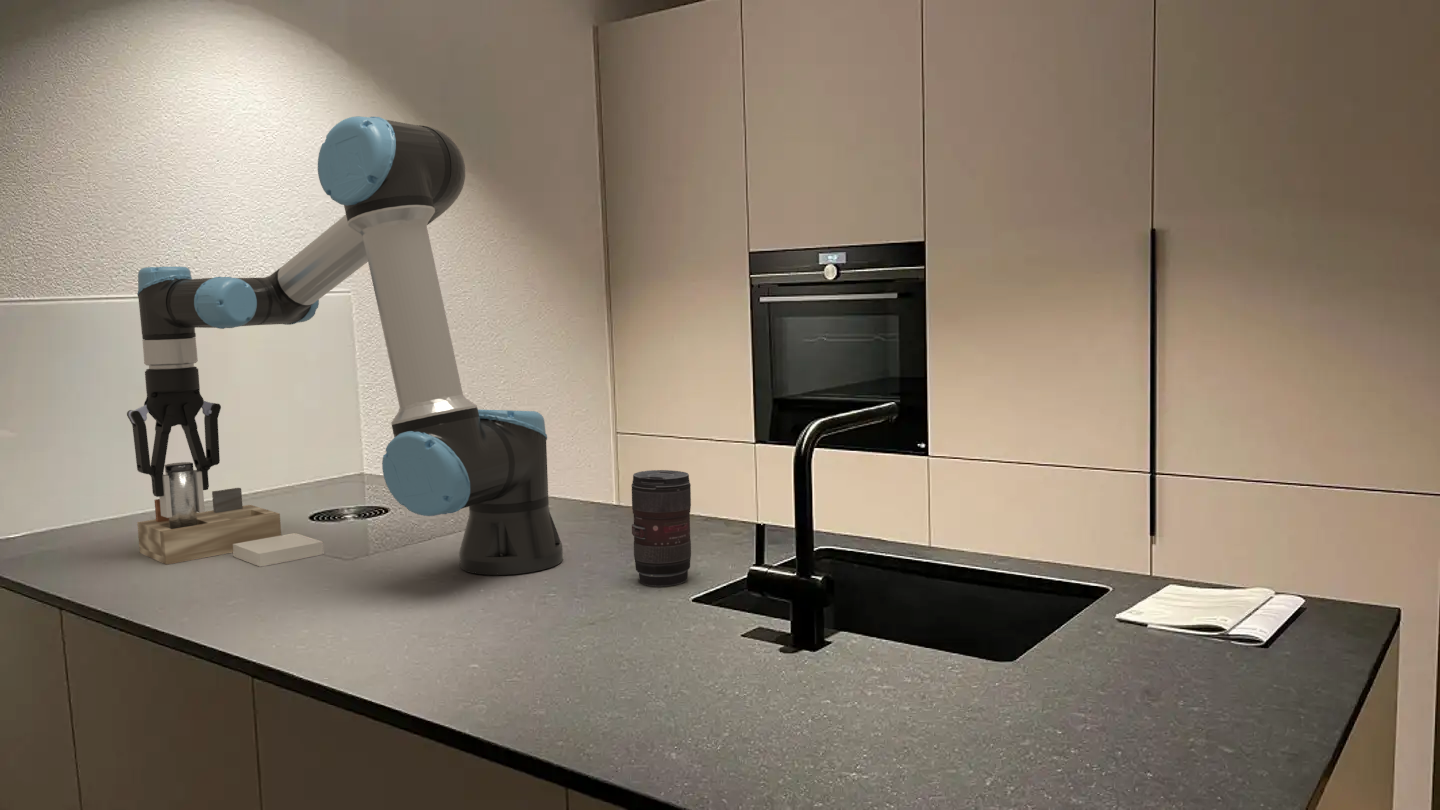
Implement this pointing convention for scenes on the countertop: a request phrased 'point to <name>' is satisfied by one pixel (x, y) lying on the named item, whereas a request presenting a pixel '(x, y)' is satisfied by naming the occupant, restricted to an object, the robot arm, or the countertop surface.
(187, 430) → the robot arm
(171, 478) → the shaker with dark cap
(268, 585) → the countertop surface
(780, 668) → the countertop surface
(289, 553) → the plate
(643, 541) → the camera lens
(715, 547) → the countertop surface
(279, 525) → the socket block
